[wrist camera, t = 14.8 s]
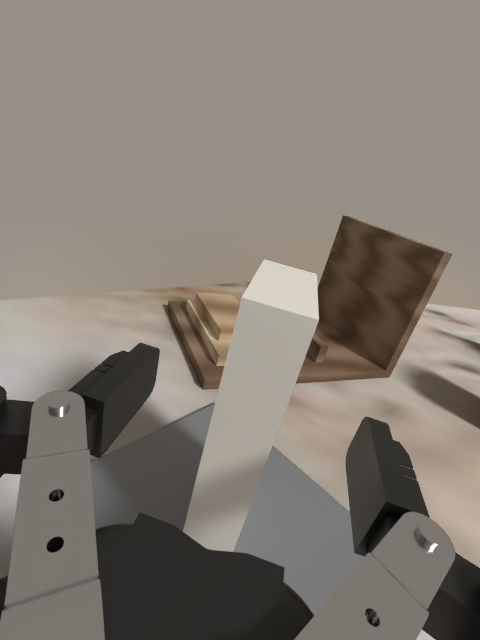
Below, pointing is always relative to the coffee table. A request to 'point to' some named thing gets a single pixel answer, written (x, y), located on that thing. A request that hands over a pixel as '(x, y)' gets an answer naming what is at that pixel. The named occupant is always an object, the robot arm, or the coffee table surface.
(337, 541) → the mat
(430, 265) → the rack
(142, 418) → the coffee table surface
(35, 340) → the coffee table surface
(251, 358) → the block
